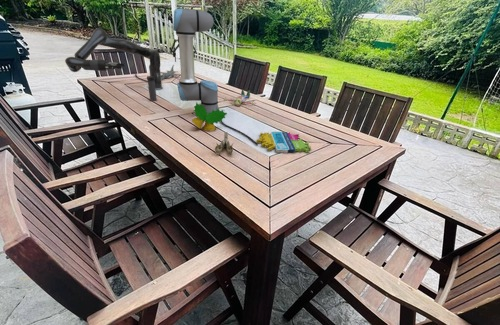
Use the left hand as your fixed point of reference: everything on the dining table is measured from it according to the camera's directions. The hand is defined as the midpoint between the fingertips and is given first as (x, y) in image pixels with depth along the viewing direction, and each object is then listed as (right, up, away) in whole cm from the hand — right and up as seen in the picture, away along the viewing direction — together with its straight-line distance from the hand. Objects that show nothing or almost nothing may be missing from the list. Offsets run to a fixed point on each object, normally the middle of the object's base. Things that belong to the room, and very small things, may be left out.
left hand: (122, 66), depth 192 cm
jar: (+16, -21, +17) cm, 32 cm away
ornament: (+68, -50, -27) cm, 88 cm away
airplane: (+5, +21, +91) cm, 93 cm away
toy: (+86, -20, +29) cm, 93 cm away
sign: (+112, -60, -39) cm, 133 cm away
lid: (+17, -6, +8) cm, 20 cm away
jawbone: (+80, -65, -53) cm, 116 cm away
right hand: (+40, +11, +19) cm, 46 cm away
